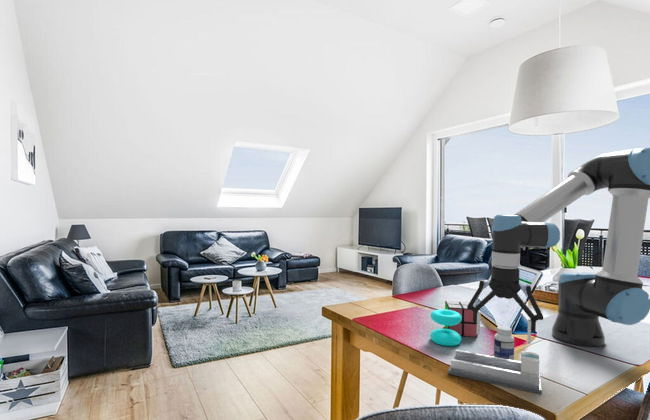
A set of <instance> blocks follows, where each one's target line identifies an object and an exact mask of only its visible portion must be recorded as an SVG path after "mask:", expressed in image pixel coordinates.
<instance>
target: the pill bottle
mask: <svg viewBox="0 0 650 420" xmlns="http://www.w3.org/2000/svg"><path fill="white" fill-rule="evenodd" d="M512 334H513V328H512V327H509V326H505V325H498V326H497V327H496V333H495V334H494V338H493V356H494V357H500V358H505V359H510V360H515V337H514V336H513V335H512Z"/></svg>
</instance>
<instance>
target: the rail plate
mask: <svg viewBox="0 0 650 420" xmlns="http://www.w3.org/2000/svg"><path fill="white" fill-rule="evenodd" d="M447 373H448V375H451V376H455V377H459V378H460V377H461V378H466V379H469V380H473V381H474V380H475V381H479V382H483V383H488V384H492V385H495V386H496V385H497V386H502V387H506V388H510V387H511V389H516V390H520V391H524V392H528V393H529V392H530V393H534V394H538V395H542V394H543V393H542V392H543V391H542V389H543V388H542V382H541V372H540V371H539V376H537V375H532V374H527V373H522V372H521V360H515V359H514V360H510V359H505V358H500V357H494V355H488V354H484V353H483V354H482V353H477V352H472V351H466V350H461V349H455V352H454V356H453V358H451V360H450V366H449V368H448V371H447Z"/></svg>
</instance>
